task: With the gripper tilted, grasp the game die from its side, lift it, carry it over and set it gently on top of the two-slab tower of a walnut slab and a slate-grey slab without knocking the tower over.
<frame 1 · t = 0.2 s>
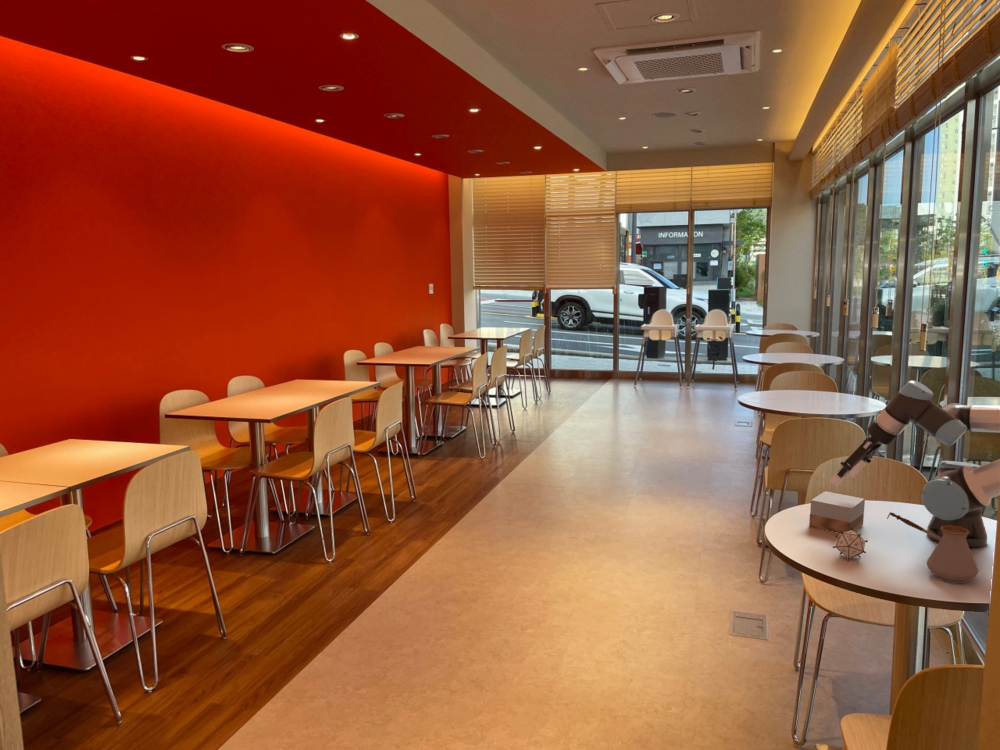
hand: (841, 479, 226), 16 cm above the table, tool tilted 35°, fingers open, 13 cm apart
game die: (849, 558, 206), on the table
tower bottom slab: (836, 527, 231), on the table, touching tower top slab
coffee pot: (929, 574, 195), on the table
tower top slab: (837, 513, 230), point 4 cm above the table, touching tower bottom slab
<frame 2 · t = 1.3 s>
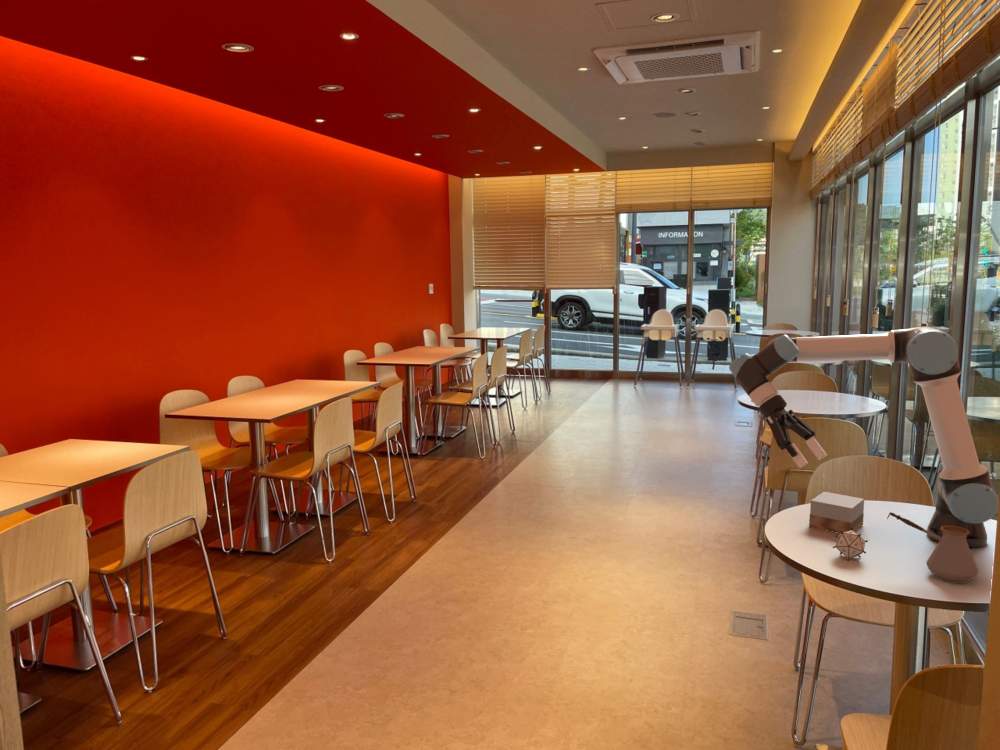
hand: (813, 461, 211), 25 cm above the table, tool tilted 40°, fingers open, 13 cm apart
nothing on the table moved.
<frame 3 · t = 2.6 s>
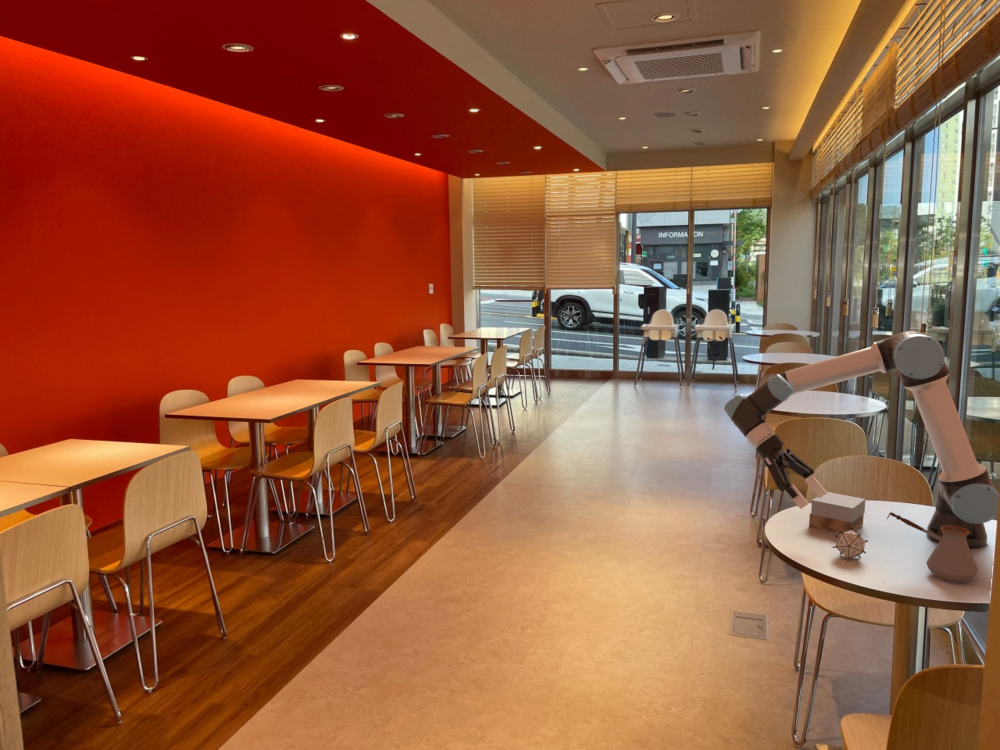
hand: (814, 501, 211), 14 cm above the table, tool tilted 45°, fingers open, 13 cm apart
nothing on the table moved.
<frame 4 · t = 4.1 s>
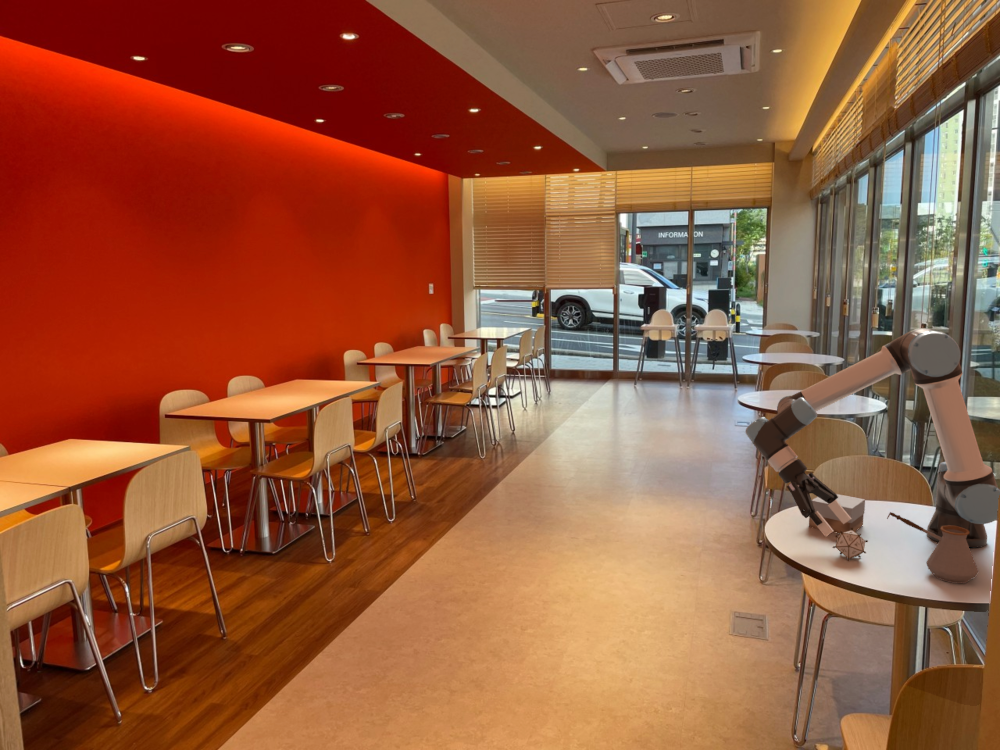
hand: (838, 527, 206), 8 cm above the table, tool tilted 45°, fingers open, 13 cm apart
nothing on the table moved.
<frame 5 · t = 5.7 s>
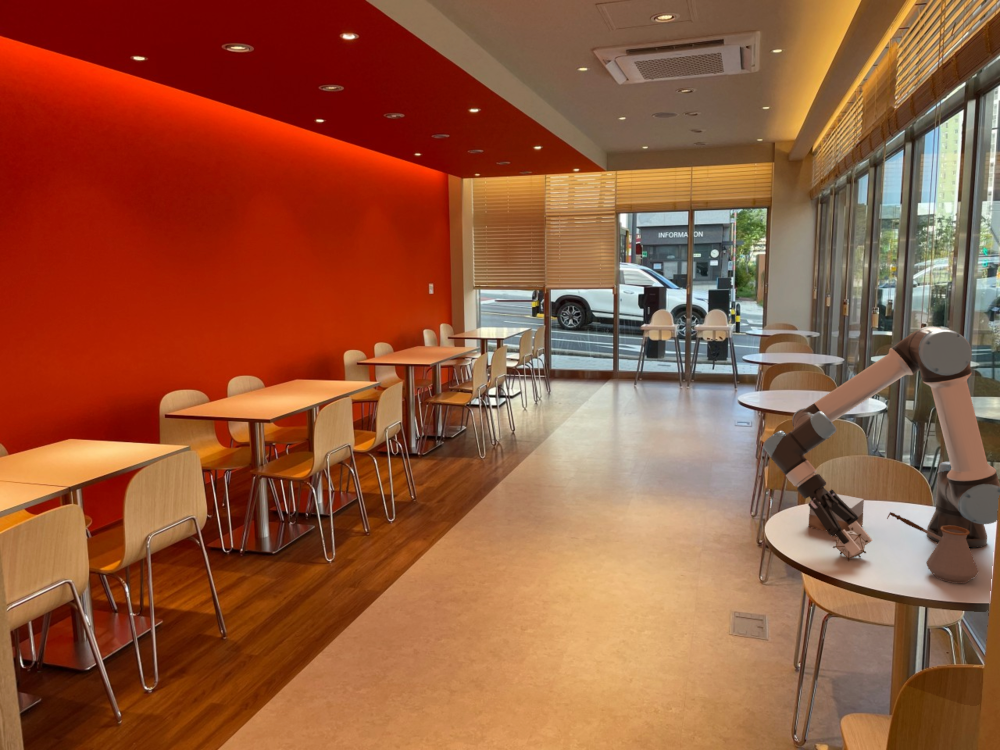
hand: (862, 547, 203), 4 cm above the table, tool tilted 45°, fingers open, 9 cm apart
game die: (849, 558, 206), on the table, touching gripper
everything else where it was.
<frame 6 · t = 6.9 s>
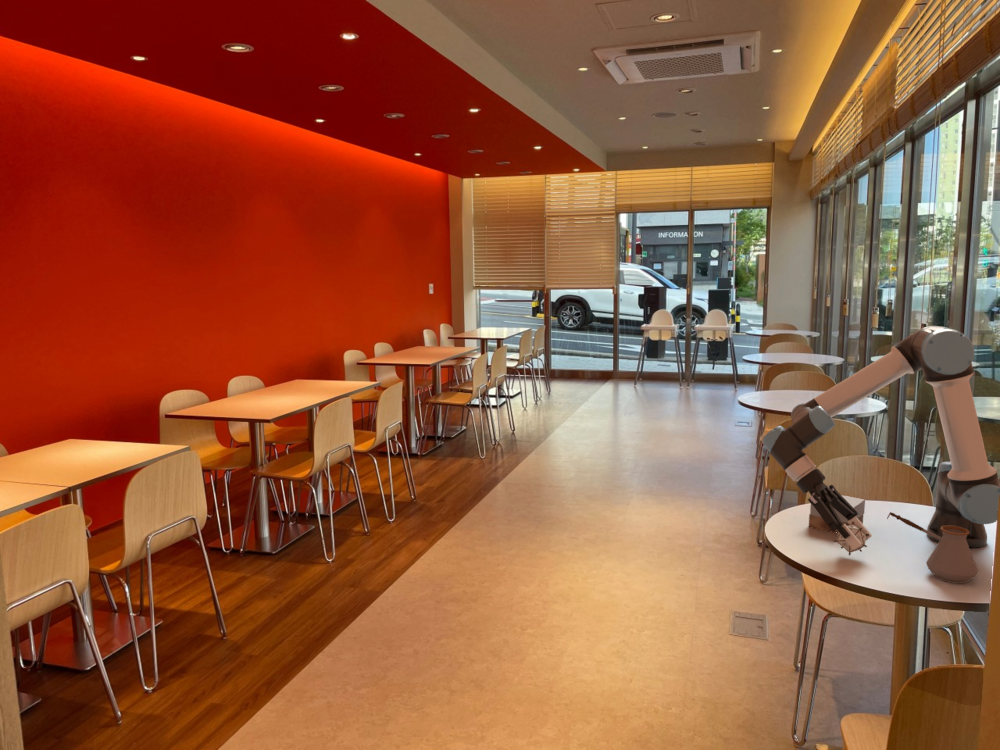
hand: (862, 542, 203), 5 cm above the table, tool tilted 45°, fingers closed on game die, 8 cm apart
game die: (850, 552, 206), point 1 cm above the table, touching gripper
tower bottom slab: (835, 527, 231), on the table
tower top slab: (837, 514, 230), point 4 cm above the table
everything else where it was.
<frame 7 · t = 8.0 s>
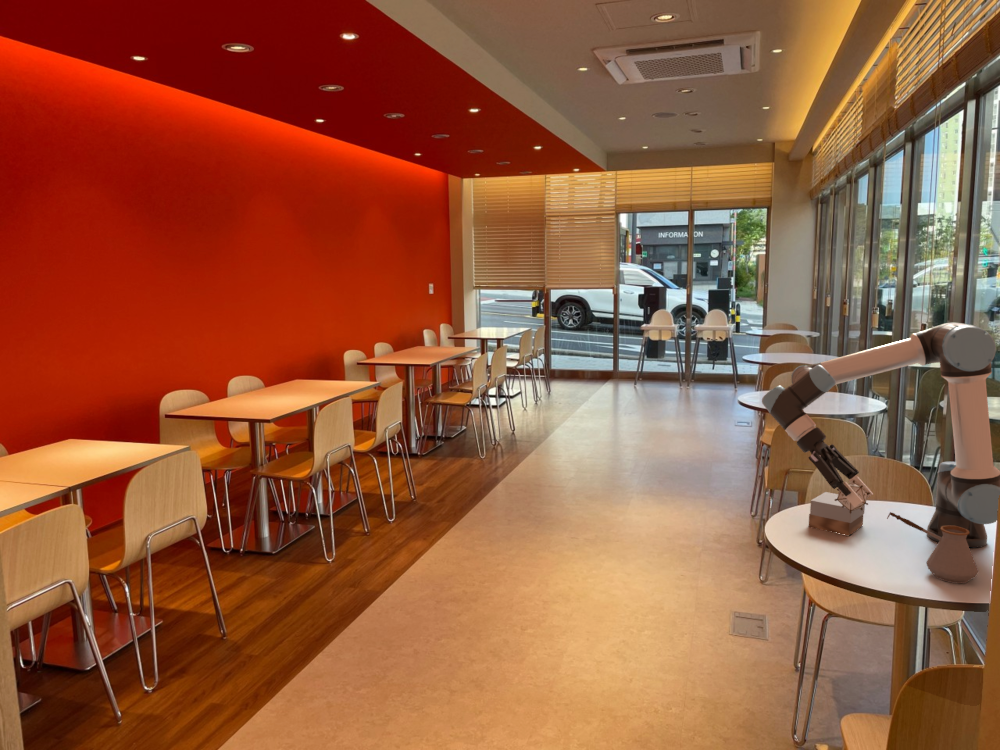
hand: (863, 500, 201), 17 cm above the table, tool tilted 45°, fingers closed on game die, 8 cm apart
game die: (851, 511, 204), point 13 cm above the table, touching gripper
tower bottom slab: (835, 527, 231), on the table, touching tower top slab
tower top slab: (837, 513, 230), point 4 cm above the table, touching tower bottom slab
everything else where it was.
when the fingers open (15 cm above the table, at t = 12.5 s): game die drops 2 cm, resting on tower top slab.
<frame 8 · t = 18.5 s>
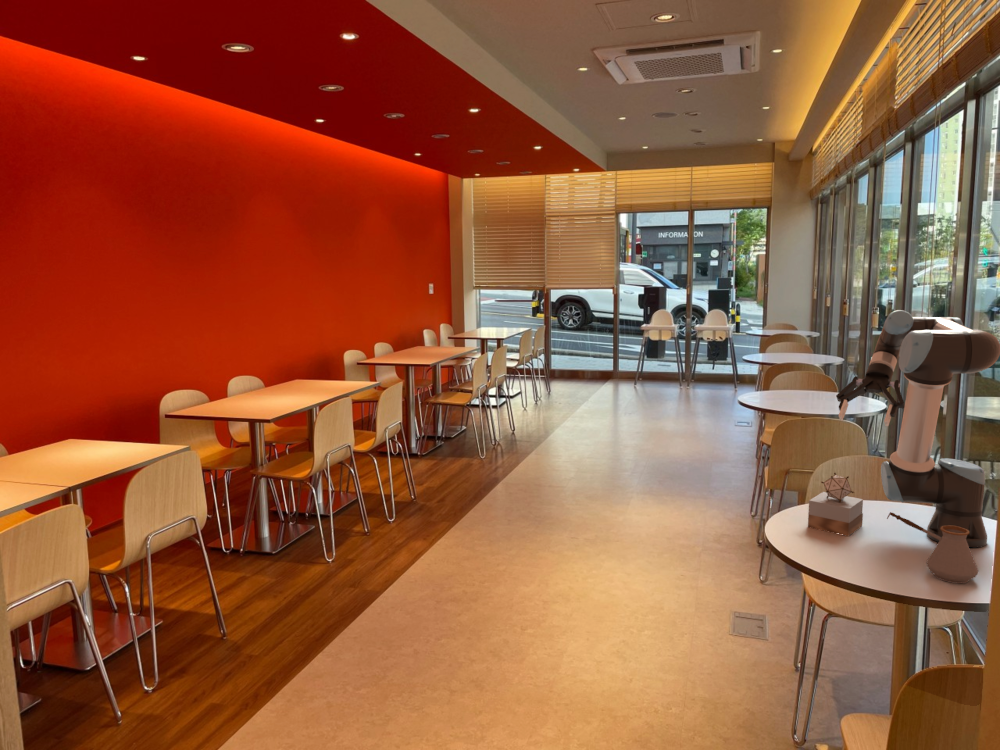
hand: (862, 421, 234), 32 cm above the table, tool tilted 45°, fingers open, 13 cm apart
game die: (836, 500, 230), point 8 cm above the table, touching tower top slab
tower top slab: (835, 513, 230), point 4 cm above the table, touching game die, tower bottom slab
everything else where it was.
at the end: game die inside the target area on the tower top slab (0.1 cm from its centre), point 4.3 cm above the tower top slab's base; tower top slab 0.1 cm off-centre on the tower bottom slab, point 4.5 cm above the tower bottom slab's base; the gripper is holding nothing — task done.
